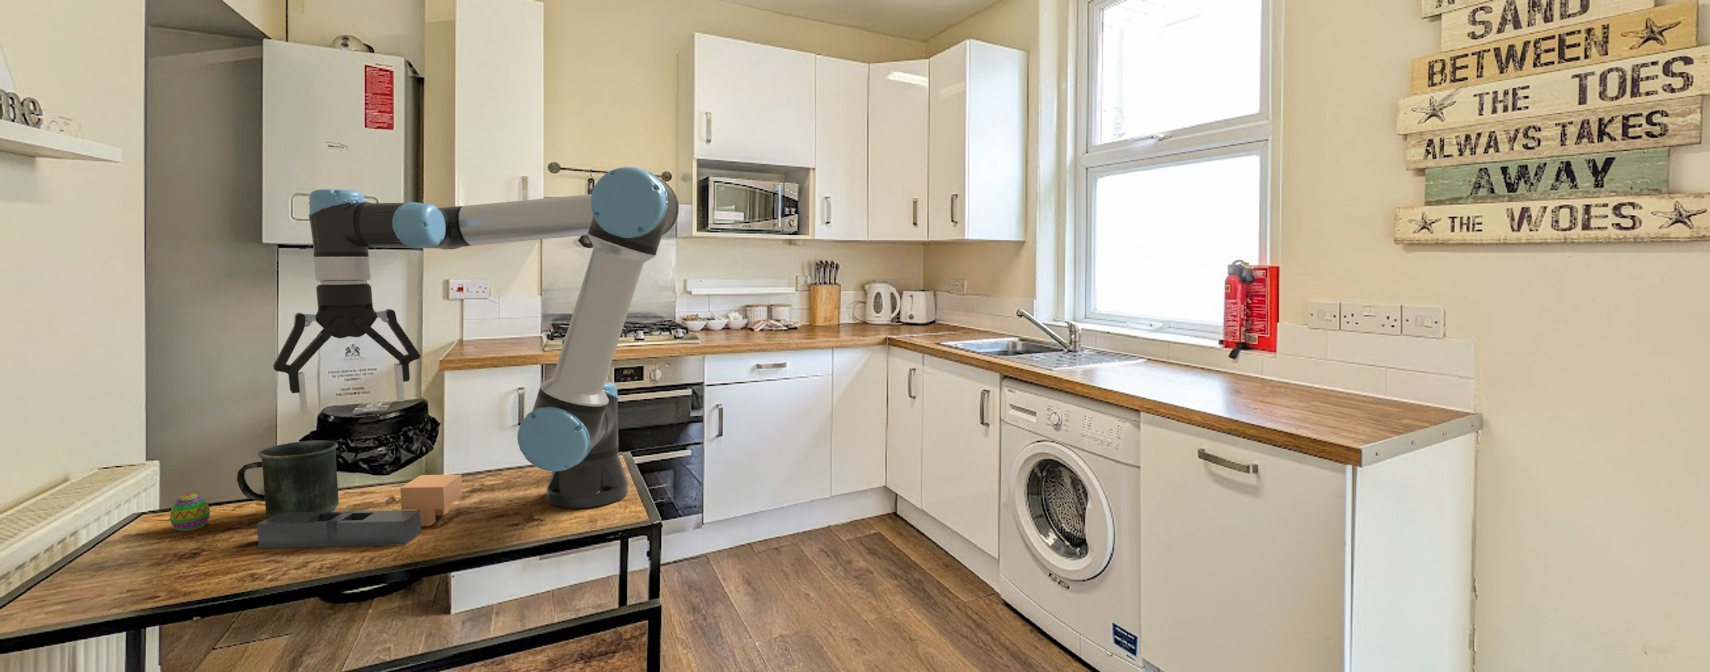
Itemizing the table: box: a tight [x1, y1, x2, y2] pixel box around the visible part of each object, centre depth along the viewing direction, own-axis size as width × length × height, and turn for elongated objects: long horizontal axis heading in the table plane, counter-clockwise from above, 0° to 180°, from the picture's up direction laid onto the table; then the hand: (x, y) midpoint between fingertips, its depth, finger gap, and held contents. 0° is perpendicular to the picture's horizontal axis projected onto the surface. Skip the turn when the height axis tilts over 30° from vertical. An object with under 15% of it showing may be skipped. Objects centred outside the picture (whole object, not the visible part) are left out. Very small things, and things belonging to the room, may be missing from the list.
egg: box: [169, 493, 211, 532], centre depth 117 cm, size 5×5×6 cm
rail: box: [256, 509, 422, 549], centre depth 113 cm, size 22×5×4 cm, turn 97°
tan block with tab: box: [400, 474, 463, 527], centre depth 123 cm, size 7×7×7 cm
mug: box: [236, 440, 340, 519], centre depth 124 cm, size 11×15×12 cm
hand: (354, 405), depth 119 cm, fingers open, 13 cm apart
